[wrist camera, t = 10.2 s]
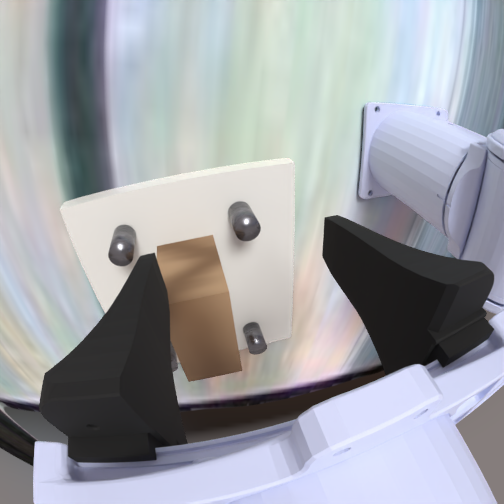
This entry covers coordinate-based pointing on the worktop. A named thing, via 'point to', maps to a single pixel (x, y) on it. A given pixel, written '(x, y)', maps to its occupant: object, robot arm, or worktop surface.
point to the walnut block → (199, 308)
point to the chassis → (199, 225)
